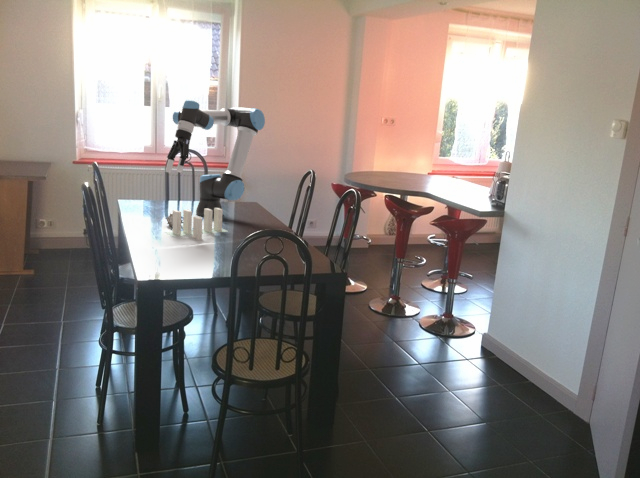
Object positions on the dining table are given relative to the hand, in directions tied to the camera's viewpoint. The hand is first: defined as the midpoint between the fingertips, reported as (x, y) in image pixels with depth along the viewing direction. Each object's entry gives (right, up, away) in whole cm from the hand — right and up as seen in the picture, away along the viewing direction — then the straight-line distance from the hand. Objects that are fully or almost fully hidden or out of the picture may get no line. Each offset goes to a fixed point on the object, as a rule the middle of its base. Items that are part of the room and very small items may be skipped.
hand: (173, 172), depth 291 cm
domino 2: (+8, -30, -4) cm, 31 cm away
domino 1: (+4, -30, -8) cm, 31 cm away
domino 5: (+21, -28, +6) cm, 36 cm away
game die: (-2, -28, +9) cm, 29 cm away
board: (+12, -30, -1) cm, 33 cm away
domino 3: (+15, -34, -14) cm, 39 cm away
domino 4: (+17, -29, +2) cm, 33 cm away
